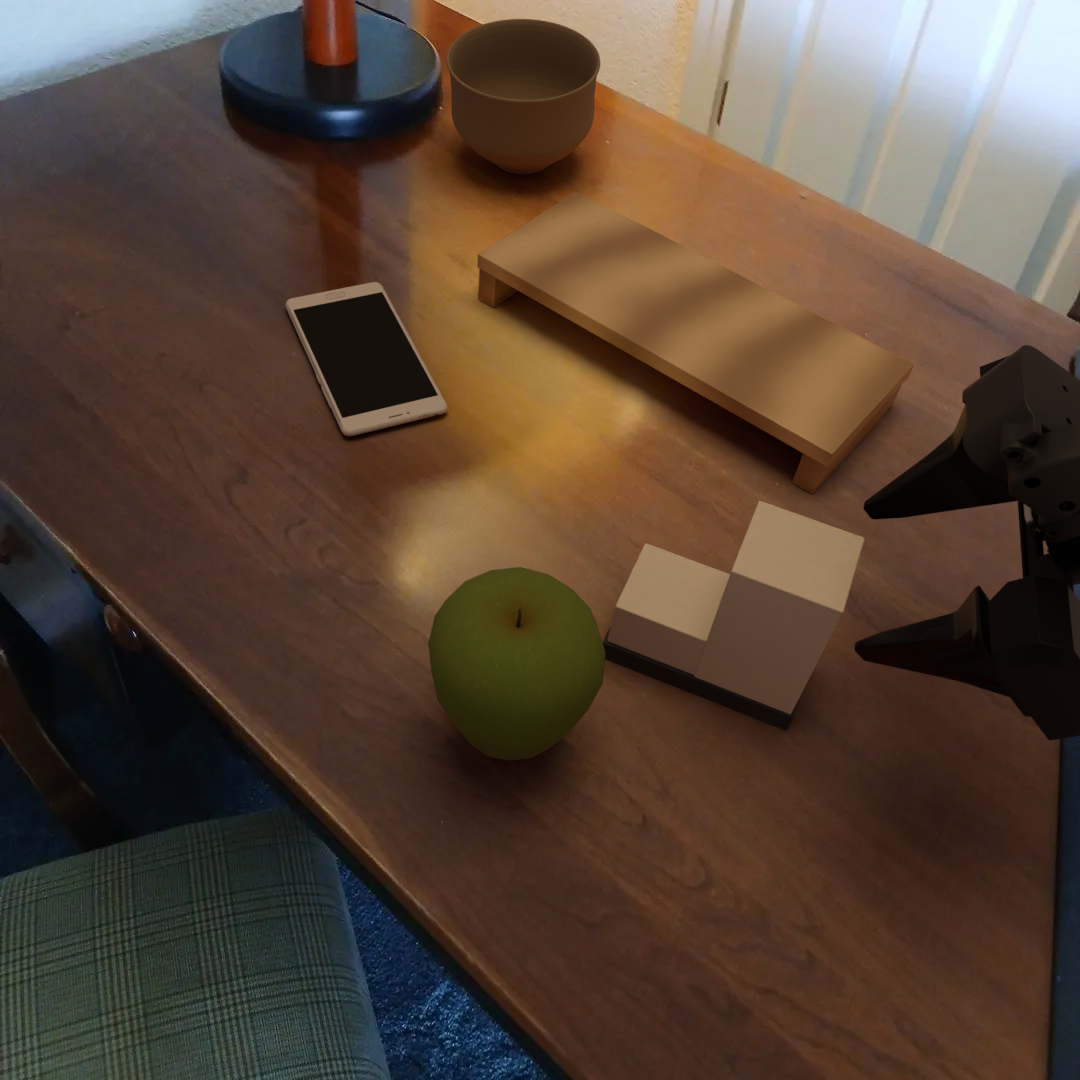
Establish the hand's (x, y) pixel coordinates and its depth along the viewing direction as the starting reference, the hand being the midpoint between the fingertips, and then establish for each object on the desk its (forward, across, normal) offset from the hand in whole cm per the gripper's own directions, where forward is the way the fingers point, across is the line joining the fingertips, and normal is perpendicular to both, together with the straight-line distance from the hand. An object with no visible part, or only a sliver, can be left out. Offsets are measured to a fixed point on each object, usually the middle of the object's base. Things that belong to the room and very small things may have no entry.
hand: (862, 577), depth 52 cm
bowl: (+29, -48, -13) cm, 57 cm away
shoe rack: (+16, -27, -1) cm, 31 cm away
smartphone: (+31, -18, -16) cm, 39 cm away
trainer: (+12, 0, +3) cm, 12 cm away
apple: (+19, +8, -4) cm, 20 cm away
